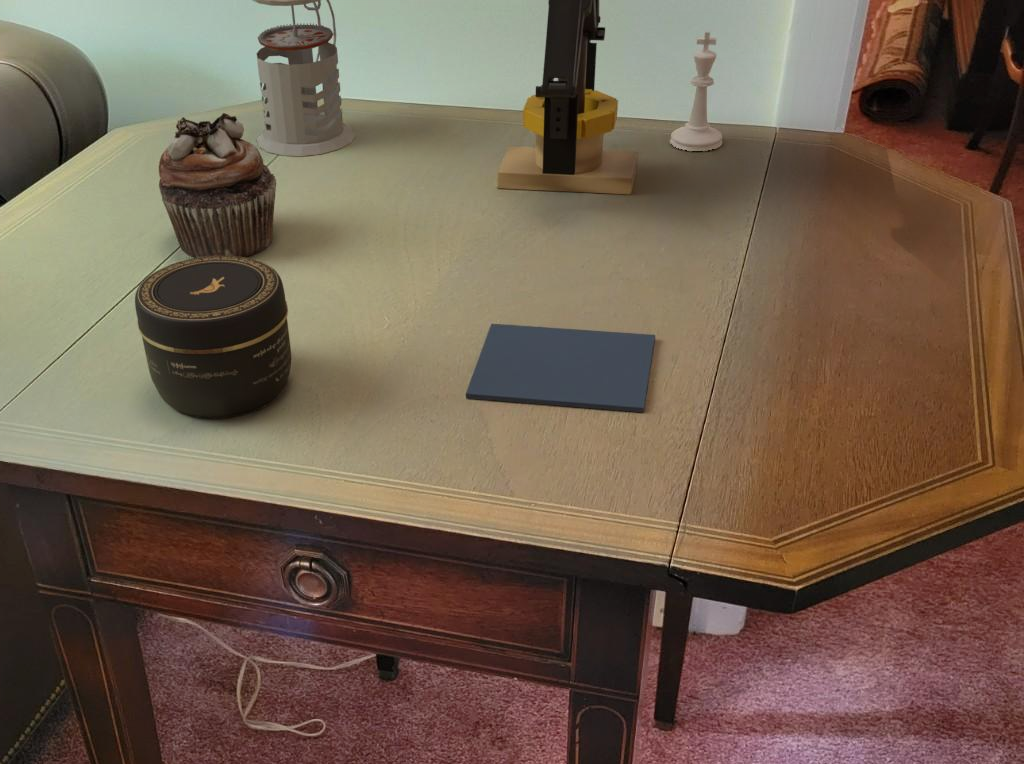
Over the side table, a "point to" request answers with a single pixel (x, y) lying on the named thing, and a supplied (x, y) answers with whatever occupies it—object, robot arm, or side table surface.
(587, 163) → the stand
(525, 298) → the side table surface
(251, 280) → the jar
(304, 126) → the french press
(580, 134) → the ring
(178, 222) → the cupcake
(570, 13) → the robot arm
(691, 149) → the chess piece
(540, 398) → the mat
